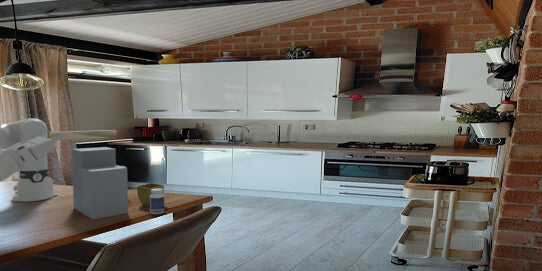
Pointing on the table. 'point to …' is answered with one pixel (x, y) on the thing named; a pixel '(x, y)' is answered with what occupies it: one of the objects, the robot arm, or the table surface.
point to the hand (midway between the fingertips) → (59, 134)
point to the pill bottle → (156, 201)
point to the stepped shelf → (99, 183)
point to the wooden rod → (84, 134)
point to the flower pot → (147, 192)
